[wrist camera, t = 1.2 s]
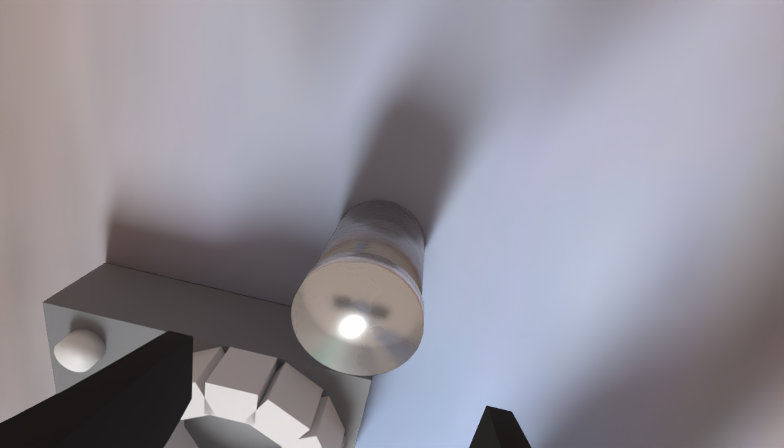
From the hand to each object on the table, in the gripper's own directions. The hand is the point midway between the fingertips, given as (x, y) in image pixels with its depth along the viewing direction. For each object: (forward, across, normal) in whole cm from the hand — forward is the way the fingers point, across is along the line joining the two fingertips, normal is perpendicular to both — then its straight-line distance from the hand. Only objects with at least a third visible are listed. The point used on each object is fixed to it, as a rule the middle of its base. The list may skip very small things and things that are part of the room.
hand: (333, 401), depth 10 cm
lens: (+9, 0, 0) cm, 9 cm away
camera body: (+9, +6, +9) cm, 14 cm away
